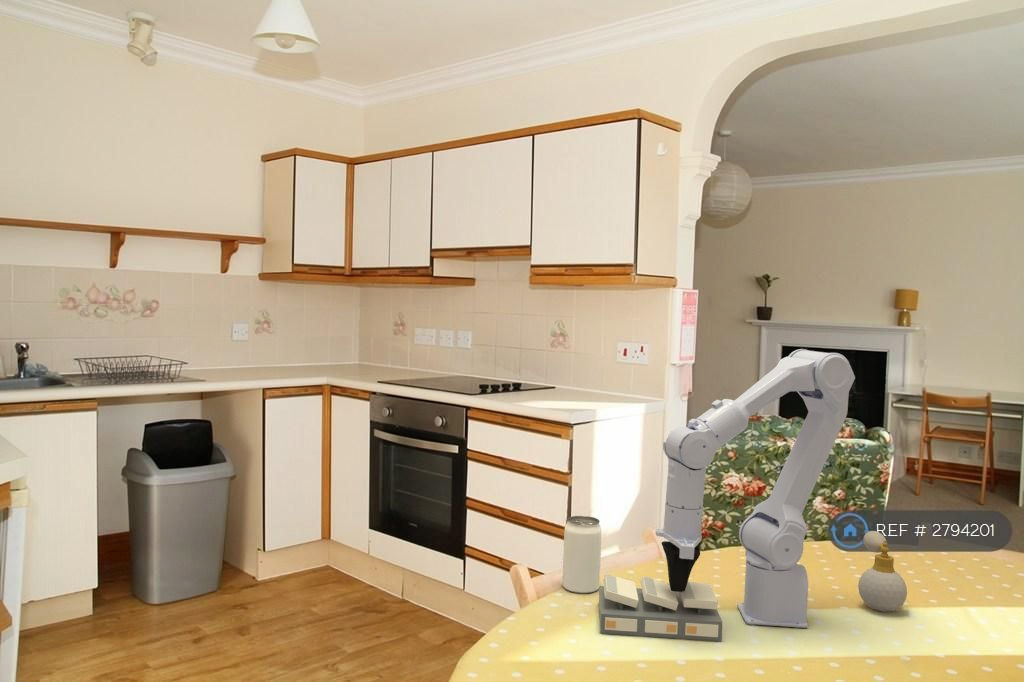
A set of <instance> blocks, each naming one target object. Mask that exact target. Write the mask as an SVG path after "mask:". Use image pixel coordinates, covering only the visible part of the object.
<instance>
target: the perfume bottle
mask: <svg viewBox="0 0 1024 682" xmlns="http://www.w3.org/2000/svg"><path fill="white" fill-rule="evenodd" d="M862 540H863V545H864V546H865V547H866V549H868V550H869V551H870V552H873V553H876V554H875V555H874V563H873V565H872V567H869V568H867V569H866V570H865V571H863V573H862V574H861V576H860V577H859V579H858V585H857V587H858V588H857V589H858V593H859V596H860V598H861V600H862V601H863V602H864V604H865V605H866V606H867V607H869V608H870V609H872V610H874V609H875V611H877V610H878V611H877V612H882V611H883V612H884V613H890V612H891V613H892V612H894V611H898V610H899V609H900V608H901V607H902V606H903V605H904V603H905V601H906V600H907V597H908V596H907V595H908V590H907V589H908V588H907V585H906V582H905V580H904V578H903V577H902V576H901V574H900V573H898V572H897V571H896V570H895V568H894V564H895V563H894V560H895V558H894V557H893V556H891V555H889V554H888V553H889V551H890V549H889V547H888V540H887V539H886V537H885V536H884V535H883V534H882V533H881V532H879V531H876V530H870V531H868V532H866V533H865V534H864V536H863V539H862ZM877 553H879V554H877Z"/></svg>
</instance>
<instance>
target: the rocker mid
mask: <svg viewBox="0 0 1024 682" xmlns="http://www.w3.org/2000/svg"><path fill="white" fill-rule="evenodd" d="M640 587H641V588H640V589H642V592H643V597H644V601H647V602H650V603H653V604H657V605H660V606H663V607H666V608H669V609H673V610H676V609H677V606H678V601H677V597H676V594H675V591H671V589H670V585H669V582H665V581H662V580H658V579H655V578H652V577H648V576H645V575H642V576H641V580H640Z"/></svg>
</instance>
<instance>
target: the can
mask: <svg viewBox="0 0 1024 682" xmlns="http://www.w3.org/2000/svg"><path fill="white" fill-rule="evenodd" d="M566 520H567V522H566V524H565V526H564V534H563V553H562V554H563V556H562V557H563V559H562V561H563V562H562V587H563V588H564V589H565V590H567V592H568V591H569V592H570V591H571V592H570V593H573V592H574V593H573V594H581V595H583V594H584V595H585V594H587V595H588V594H592V593H595V592H597V591H598V590H599V587H600V581H601V580H600V579H601V578H600V577H601V558H602V556H601V555H602V551H601V550H602V532H603V531H602V527H601V525H600V520H599V519H598V518H597V517H593V516H587V515H573V516H569V517H568V518H567V519H566Z"/></svg>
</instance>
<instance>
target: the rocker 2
mask: <svg viewBox="0 0 1024 682" xmlns="http://www.w3.org/2000/svg"><path fill="white" fill-rule="evenodd" d="M679 594H680V597H681V600H682V603H683V606H684V607H690V608H703V609H716V610H718V605H719V604H718V599H717V596H716V594H715V593H714V591H713V588H712V586H711V584H710V583H708V582H694V581H688V583H687V586H686V589H685V591H682V592H679Z"/></svg>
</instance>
